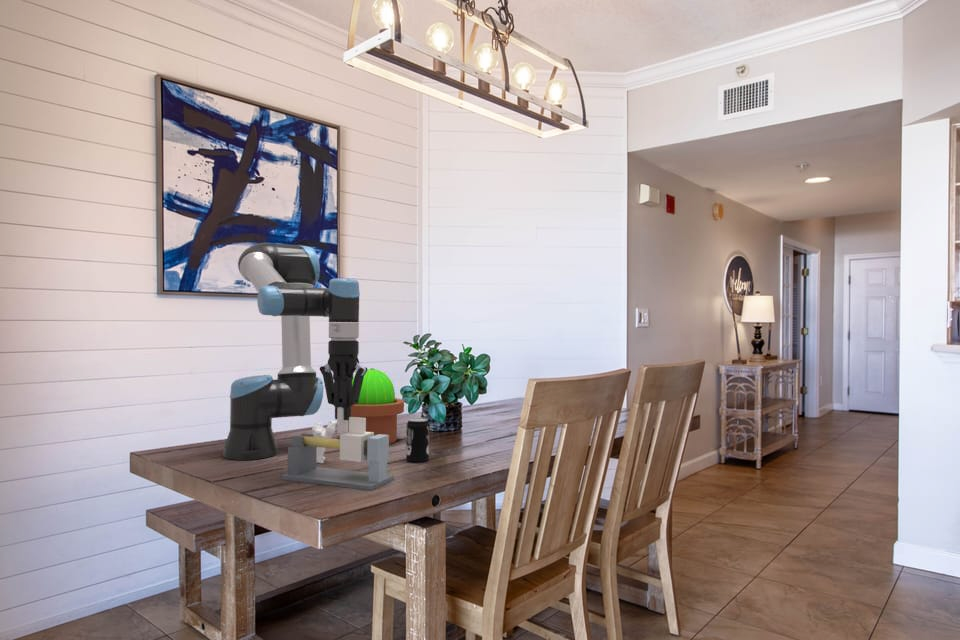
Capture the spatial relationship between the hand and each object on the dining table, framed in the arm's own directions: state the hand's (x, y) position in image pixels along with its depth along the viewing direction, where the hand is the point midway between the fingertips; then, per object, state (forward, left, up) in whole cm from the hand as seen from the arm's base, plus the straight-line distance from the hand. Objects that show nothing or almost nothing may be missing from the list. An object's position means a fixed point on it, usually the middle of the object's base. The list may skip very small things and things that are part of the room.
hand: (342, 432), depth 154 cm
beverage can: (+8, +27, -12) cm, 31 cm away
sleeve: (+4, 0, -6) cm, 7 cm away
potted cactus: (-19, +46, -12) cm, 51 cm away
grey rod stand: (-1, 0, -12) cm, 12 cm away
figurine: (-17, +16, -12) cm, 27 cm away
